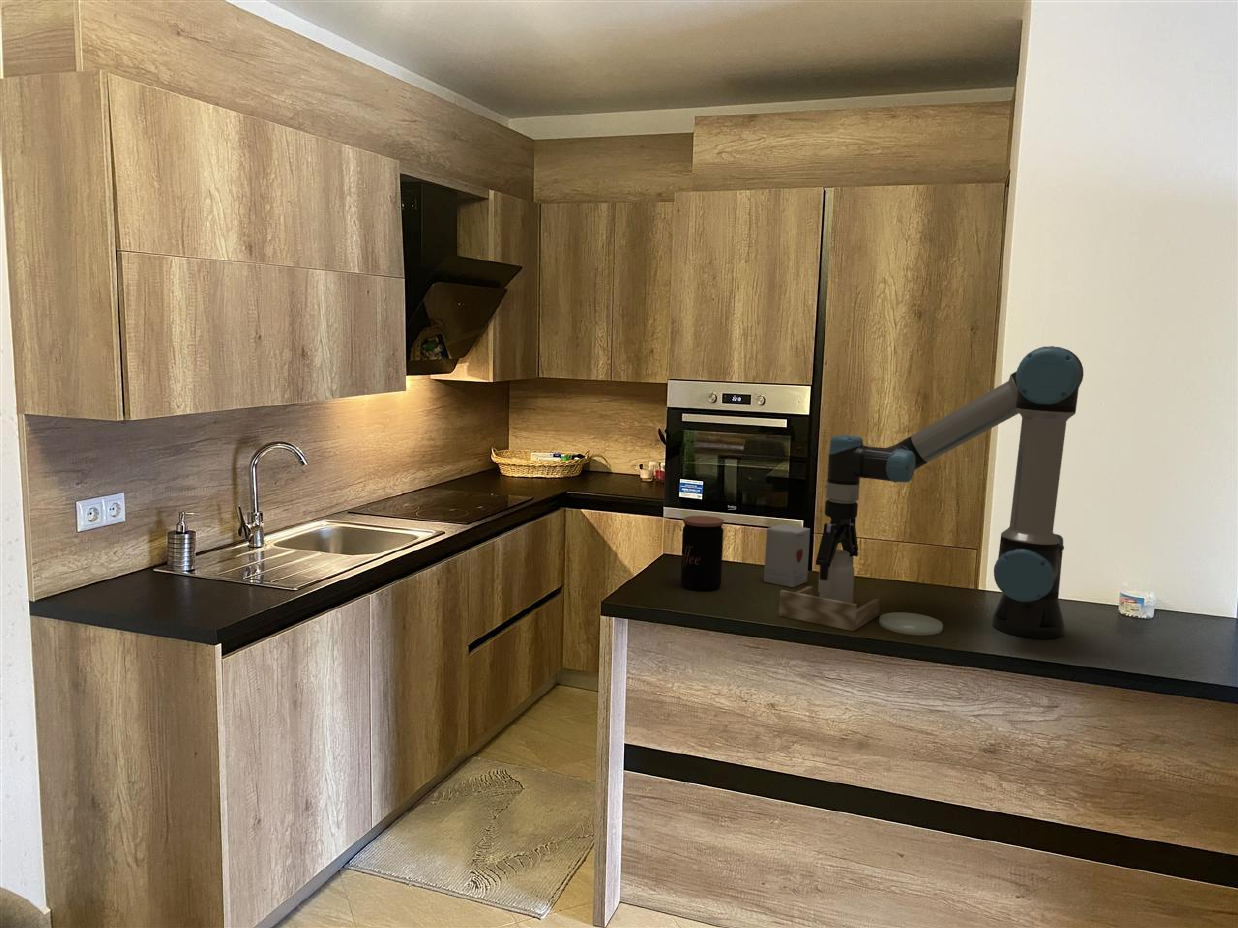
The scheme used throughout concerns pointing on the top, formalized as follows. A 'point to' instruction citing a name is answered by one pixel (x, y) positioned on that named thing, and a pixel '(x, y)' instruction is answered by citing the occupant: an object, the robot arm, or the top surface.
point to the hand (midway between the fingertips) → (835, 587)
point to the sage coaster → (911, 623)
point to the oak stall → (826, 610)
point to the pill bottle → (841, 578)
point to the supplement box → (787, 555)
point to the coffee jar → (702, 553)
